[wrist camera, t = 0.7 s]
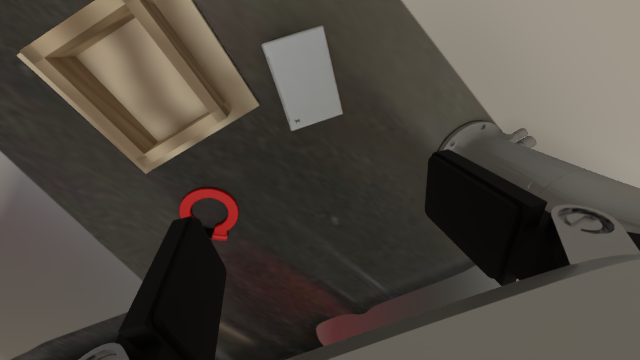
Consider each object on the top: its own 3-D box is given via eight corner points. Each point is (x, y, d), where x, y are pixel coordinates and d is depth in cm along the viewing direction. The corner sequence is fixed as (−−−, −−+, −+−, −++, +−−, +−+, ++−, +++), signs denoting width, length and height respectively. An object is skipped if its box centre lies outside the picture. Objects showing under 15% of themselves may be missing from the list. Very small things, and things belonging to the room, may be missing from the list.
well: (166, -41, 24) (143, -61, 19) (259, 104, 32) (258, 112, 27) (23, 55, 25) (-28, 56, 21) (148, 171, 33) (130, 189, 29)
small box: (323, 98, 33) (344, 116, 24) (284, 110, 33) (291, 133, 24) (306, 31, 29) (325, 23, 20) (262, 45, 29) (260, 43, 20)
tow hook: (184, 180, 35) (177, 231, 38) (148, 236, 24) (142, 301, 27) (243, 191, 38) (232, 238, 41) (235, 245, 27) (221, 304, 30)
